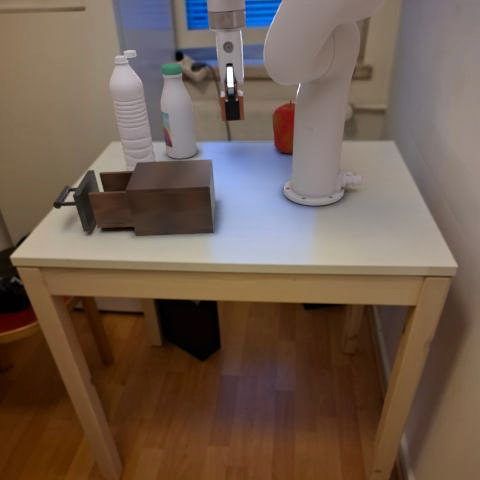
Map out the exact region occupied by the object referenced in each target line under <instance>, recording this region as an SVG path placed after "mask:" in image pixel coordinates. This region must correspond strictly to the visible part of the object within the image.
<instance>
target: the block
mask: <svg viewBox="0 0 480 480" xmlns="http://www.w3.org/2000/svg"><path fill="white" fill-rule="evenodd" d="M219 96H220V97H219V98H220V110H221V112H220V113H221V122H228V121H227V120H226V113H225V101H226V99H225V91H220V95H219ZM235 98H236V96H235ZM238 100H239V105H240V120H239V121H245V108H244V91H243V90H238ZM233 121H234V122H235V121H238V120H233ZM233 121H232V122H233Z"/></svg>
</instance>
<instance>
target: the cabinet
mask: <svg viewBox="0 0 480 480" xmlns="http://www.w3.org/2000/svg"><path fill="white" fill-rule="evenodd" d="M215 192H216V191H215V178H214V166H213V159H190V160H164V161H163V160H162V161H160V160H159V161H156V162H137V164H136V166H135V169H134V171H133V174H132V176H131V179H130V181H129V183H128V186H127V188H126V193H127V198H128V202H129V207H130V211H131V216H132V220H133V224H134V227H133V229H134V233H135V236H137V237H138V236H139V237H140V236H161V235H162V236H163V235H186V234H190V235H191V234H212V233H215V217H216V193H215Z"/></svg>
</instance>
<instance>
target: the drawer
mask: <svg viewBox="0 0 480 480" xmlns="http://www.w3.org/2000/svg"><path fill="white" fill-rule="evenodd" d="M98 174H99V175H98V176H99V179H100V182H101V186H102V187H101V188H102V190H103V191H100V187H99V183H98V180H97V177H96V173H95V169H89V170H87V171H86V173H85V174H84V175H83V178H82V179H81V181H80V183H79V184H78V186H77V187H71V186H70V185H64V186H63V188H62V190H61V191H60V193H59V194H58V195H57V197H56V198H55V200H54V202H53V204H52V205H53V208H54V209H56V210H60V209H61V208H62V207H75V208H76V211H77V214H78V217H79V221H80V224H81V227H82V230H83V232H84V233H87V232H88V233H90V232H91V231H92V229H93V227H94V224H95V223H96V227H97V229H105V228H106V229H108V228H127V227H128V228H129V227H131V228H132V227H133V228H134V224H133V220H132V216H131V211H130V207H129V202H128V198H127V193H126V188H127V186H128V183H129V181H130V179H131V176H132V174H133V171H127V170H122V171H100V172H99V173H98ZM70 193H73V194H72V197H73V201H66V200H67V198H68V197H69V196H70Z"/></svg>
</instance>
